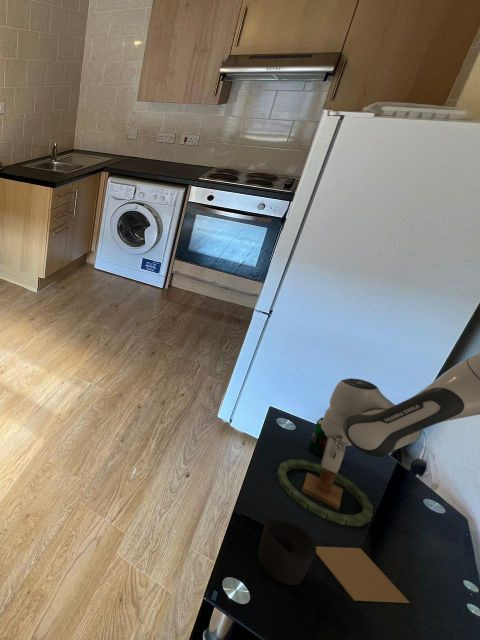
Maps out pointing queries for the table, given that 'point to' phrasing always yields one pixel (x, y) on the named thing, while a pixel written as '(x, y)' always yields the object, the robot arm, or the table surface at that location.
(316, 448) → the soda can
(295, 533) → the pen holder
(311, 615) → the table surface
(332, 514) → the ring
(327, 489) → the peg stand
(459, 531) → the table surface
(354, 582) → the mat
